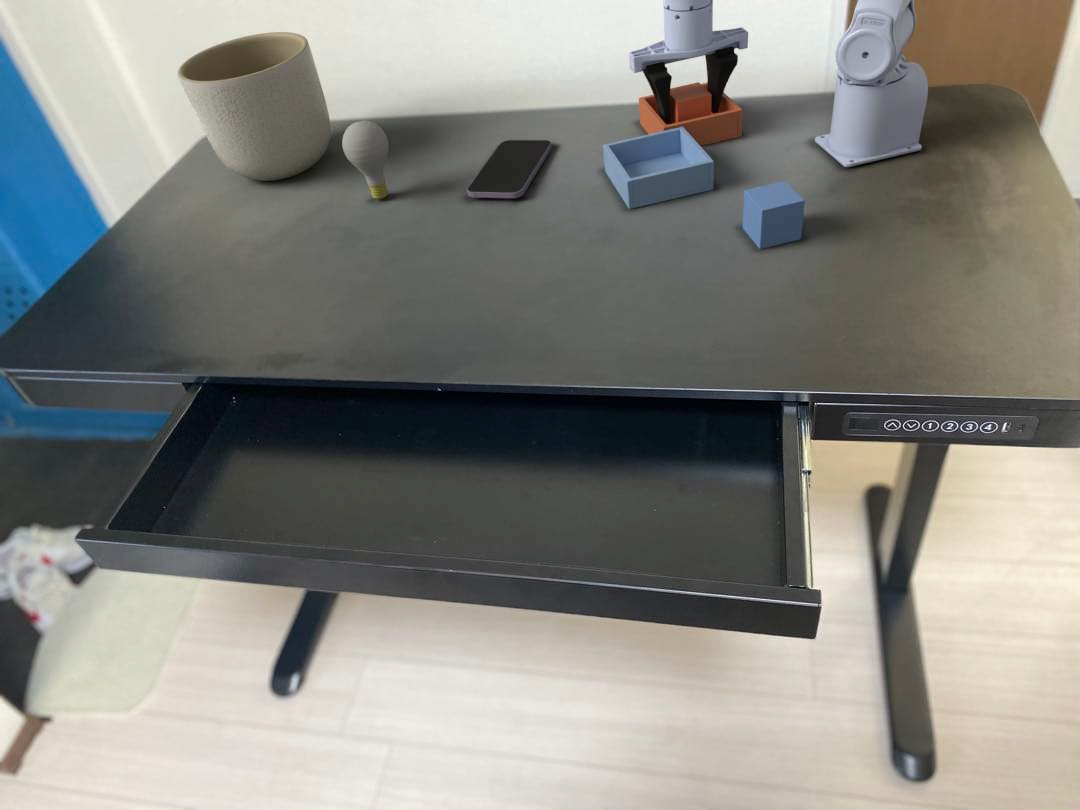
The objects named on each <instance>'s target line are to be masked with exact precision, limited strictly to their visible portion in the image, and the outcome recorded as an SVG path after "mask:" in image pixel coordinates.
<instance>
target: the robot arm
mask: <svg viewBox="0 0 1080 810" xmlns="http://www.w3.org/2000/svg"><path fill="white" fill-rule="evenodd" d="M662 1H663V32H664V33H663V34H664V36H663V37H664V39H663V40H661V41H658V42H656V43H653V44H650V45H648V46H645V47H642V48H639V49H636V50H632V51H628V61H629V62H628V63H629V69H630V70H631V72H633V74H637V73H643V75H644V77H645V78H646V81H647V83H648V85H649V87H650V90H651V92H652V95H654V97H655V100H656V103H657V106H658V110H659V115H660V118H661V119H662V120H663V121H664V122H665V124H670V118H671V115H670V89H671V85H672V78H673V76H672V75H671V74H670V73H669V72H668V67H667V66H666V65H668V64H673V63H677V62H681V61H685V60H691V59H696V58H699V57H705V65H706V66H705V67H706V76H707V77H706V78H707V82H708V84H707V91H708V92H709V93H710V94H711V112H712V113H713V114H714V113H718V111H719V106H720V102H721V98H722V95H723V92H724V93H725V89H726V86H727V84H728V82H729V80H730V77H731V75H732V73H733V72H734V70H735V68H736V67H737V66H738V61H739V55H738V54H737V53H736V52H735V49H738V50H745V49H748V48H749V47H748V45H749V31H748V30H746V29H745V28H744V27H741V26H740V27H737V28H729V29H720V30H719V29H717V30H713V28H714V27H713V26H714V25H713V24H714V21H713V19H714V0H662ZM916 28H917V14H916V10H915V0H857V2H856V5H855V8H854V12H853V15H852V20H851V22H850V25H849V27H848V28H847V29H846V31H845V32H844V33H843V34H842V36H841V37H840V39H839V40H838V43H837V45H836V49H835V63H836V66H837V71H836V72H837V73H836V79H835V88H834V89H835V90H834V99H833V106H832V115H831V124H830V132H829V133H826V134H822V135H817V136H815V137H814V143H816V144H817V145H818V146H820V147H821V148H822V149H823V150H824V151H825V152H827V153H828V154H829V155H830V156H831V157H832V158H834V159H835V160H836V161H837V162H838V163H839V164H840V165H842V166H843V167H844V168H851V167H855V166H860V165H864V164H868V163H873V162H877V161H881V160H885V159H890V158H894V157H898V156H902V155H907V154H911V153H915V152H919V151H922V148H923V145H922V144H920V143H919V142H920V137H921V131H922V127H923V121H924V118H925V117H924V116H925V111H926V106H927V102H928V97H929V84H928V78H927V74H926V72H925V70H924V68H923V67H922V66H921V65H920V64H918V63H917V62H914V61H910V62H909V61H907V59H906V57H905V54H904V52H903V50H904V48H905V46H906V45H907V44H908V43H909V42H910V40H911V39H912V37H913V35H914V33H915V31H916Z"/></svg>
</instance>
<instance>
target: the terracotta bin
mask: <svg viewBox="0 0 1080 810" xmlns="http://www.w3.org/2000/svg"><path fill="white" fill-rule="evenodd" d="M700 84H701V85H702V86H703V87H704V88H705V89H706V90H707V84H708V81H707V82H703V83H700ZM638 108H639V109H638V110H639V112H638V113H639V114H638V115H639V124H640V125H641V126H642V128H643V129H644V131H645V132H646V133H647V135H648V134H652V133H657V132H661V131H666V130H670V129H674V128H679V127H684V128H685V129H686V131H687V132H688V133H689V134H690V135H691V136H692V137H693V139H694V140H695V141H696V142H697V143H698V144H699V145H700V146H701V147H702V146H706V145H710V144H715V143H719V142H723V141H728V140H732V139H733V140H734V139H736V138H741V137H742V136H743V135H742V131H743V109H742V108H741V107H740V106H739V105H738V104H737V103H736V102H735V101H734V100H733V99H731V97H730V96H728V94H727V93H725V91H724V92H723V95H722V98H721V102H720V106H719V111H718V113H714V114H713V113H712V112H711V115H708V116H704V117H700V118H695V119H691V120H686V121H682V122H678V123H673V124H669V125H668V124H665V122H664V121H663V120H662V119H661V118H660V115H659V110H658V106H657V103H656V100H655V97H654V94H650V95H646V96H641V97H638Z"/></svg>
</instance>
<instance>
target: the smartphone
mask: <svg viewBox="0 0 1080 810" xmlns="http://www.w3.org/2000/svg"><path fill="white" fill-rule="evenodd" d="M552 148H553V146H552V142H551V141H550V140H547V139H508V140H504V141H501V142H500V143H499V144H498V146H497V147H496V148H495V150H494V151H493V153H492V154H491V155H490V157H489V158H488V159H487V161H486V162H485V164H484V165H483V166H482V167H481V169H480V170H479V171H478V173H477V174H476V176H475V177H474V178H473V180H472V181H471V183H470V184H469V185H468V186H467V189H466V192H467V196H468V197H470V198H475V199H518V198H521V197H522V196H523V195H524V194H525V192H526V191H527V189H528V187H529V186H530V184H531V182H532V181H533V180H534V178H535V176H536V174H537V173H538V171H539V170H540V169H541V166H542V165H543V163H544V162H545V160H546V159H547V157H548V155H549V154H550V152H551V150H552Z"/></svg>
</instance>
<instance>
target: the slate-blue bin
mask: <svg viewBox="0 0 1080 810" xmlns="http://www.w3.org/2000/svg"><path fill="white" fill-rule="evenodd" d="M602 150H603V162H604V163H603V164H604V172H605V173H606V175H607V177H608V179H609V180H610V182H611V183H612V185H613V186H614V188H615V189H616V191H617V192H618V194H619V196H620V197H621V198H622V200H623V202H624V203H625V205H626V207H627V208H628V210H632V209H635V208H639V207H645V206H648V205H652V204H657V203H662V202H666V201H669V200H674V199H678V198H683V197H688V196H691V195H695V194H699V193H705V192H709V191H712V190H714V189H715V188H714V184H715V183H714V179H715V178H714V177H715V175H714V174H715V173H714V172H715V171H714V170H715V161H714V160H713V159H712V157H711V156H710V155H709V154H708V153H707V152H706V151H705V150H704V148H703V147H702V146H700V145H699V144H698V143H697V142H696V141H695V140H694V139H693V137H692V136H691V135H690V134H689V133H688V132H687V131H686V129H685V128H684V127H679V128H674V129H670V130H666V131H661V132H657V133H652V134H648V133H647V134H644V135H639V136H635V137H631V138H626V139H623V140H618V141H614V142H609V143H605V144H602Z"/></svg>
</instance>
